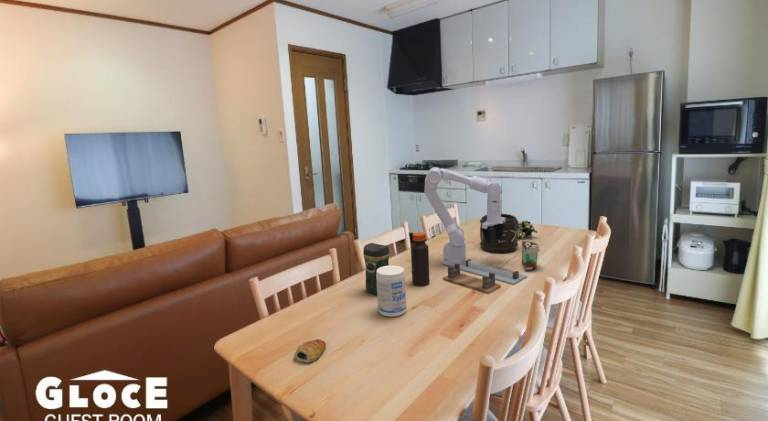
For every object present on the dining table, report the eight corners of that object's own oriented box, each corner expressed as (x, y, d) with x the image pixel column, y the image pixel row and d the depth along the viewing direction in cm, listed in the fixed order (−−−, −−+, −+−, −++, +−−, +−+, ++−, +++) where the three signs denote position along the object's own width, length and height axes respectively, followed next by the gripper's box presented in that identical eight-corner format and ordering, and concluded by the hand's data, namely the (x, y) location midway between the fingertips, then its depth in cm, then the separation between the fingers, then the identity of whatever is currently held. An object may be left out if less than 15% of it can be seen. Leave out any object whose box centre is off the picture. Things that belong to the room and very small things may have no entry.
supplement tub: (398, 320, 125) (396, 276, 122) (373, 314, 129) (370, 273, 126) (411, 307, 133) (409, 266, 130) (387, 302, 138) (384, 263, 135)
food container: (541, 272, 157) (542, 249, 155) (525, 272, 158) (526, 249, 156) (536, 262, 168) (536, 240, 166) (521, 262, 170) (521, 240, 168)
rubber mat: (457, 269, 166) (457, 268, 165) (471, 263, 172) (471, 261, 172) (513, 284, 147) (513, 283, 146) (527, 277, 153) (527, 275, 153)
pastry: (313, 343, 114) (312, 331, 114) (332, 348, 111) (331, 336, 110) (292, 360, 106) (290, 347, 106) (311, 366, 103) (310, 353, 102)
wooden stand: (442, 279, 155) (442, 266, 154) (455, 274, 160) (455, 261, 159) (488, 294, 140) (488, 279, 139) (500, 287, 145) (500, 273, 144)
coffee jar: (395, 290, 148) (392, 243, 144) (381, 297, 142) (378, 249, 138) (376, 284, 154) (373, 239, 150) (362, 291, 148) (359, 245, 145)
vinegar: (409, 285, 152) (407, 235, 148) (416, 278, 158) (414, 231, 154) (425, 287, 149) (423, 237, 145) (432, 281, 155) (430, 232, 151)
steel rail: (465, 266, 167) (465, 260, 166) (469, 264, 168) (469, 259, 168) (515, 279, 150) (515, 273, 149) (518, 277, 152) (518, 271, 151)
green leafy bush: (526, 246, 208) (541, 229, 204) (521, 248, 199) (537, 230, 195) (509, 232, 213) (523, 215, 209) (504, 234, 203) (518, 216, 199)
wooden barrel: (478, 253, 184) (478, 221, 181) (480, 242, 201) (480, 213, 198) (518, 255, 179) (519, 222, 176) (517, 243, 196) (518, 213, 192)
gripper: (492, 214, 156) (492, 247, 159) (511, 208, 166) (511, 239, 168) (477, 212, 162) (477, 244, 164) (497, 206, 171) (497, 236, 174)
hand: (493, 241), depth 167 cm, fingers open, 7 cm apart
